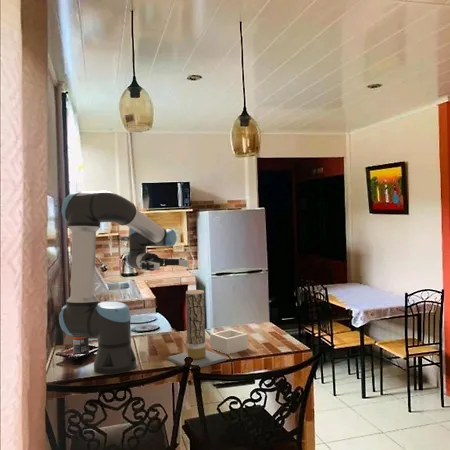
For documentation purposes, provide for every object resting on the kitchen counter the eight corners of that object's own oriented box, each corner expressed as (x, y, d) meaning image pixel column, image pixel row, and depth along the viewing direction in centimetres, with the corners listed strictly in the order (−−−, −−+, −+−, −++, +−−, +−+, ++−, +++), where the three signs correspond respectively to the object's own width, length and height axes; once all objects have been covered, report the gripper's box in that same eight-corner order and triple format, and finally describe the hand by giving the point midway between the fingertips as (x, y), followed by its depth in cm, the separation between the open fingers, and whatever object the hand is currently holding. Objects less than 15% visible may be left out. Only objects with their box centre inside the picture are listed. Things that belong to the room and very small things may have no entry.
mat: (190, 370, 166) (190, 367, 166) (167, 359, 179) (167, 356, 179) (226, 360, 176) (226, 357, 176) (202, 350, 189) (202, 348, 188)
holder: (227, 354, 183) (226, 339, 183) (210, 348, 192) (210, 333, 191) (248, 348, 190) (247, 334, 190) (231, 343, 198) (231, 329, 198)
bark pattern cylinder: (203, 360, 173) (201, 293, 173) (185, 359, 175) (183, 292, 174) (207, 354, 180) (205, 289, 179) (190, 354, 181) (188, 289, 181)
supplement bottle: (82, 352, 191) (81, 324, 191) (92, 354, 188) (91, 326, 187) (70, 356, 186) (69, 328, 186) (80, 358, 183) (79, 329, 182)
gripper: (173, 267, 212) (199, 271, 196) (122, 272, 197) (146, 277, 180) (172, 251, 212) (199, 253, 195) (121, 255, 197) (145, 258, 180)
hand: (173, 265), depth 188 cm, fingers open, 13 cm apart
